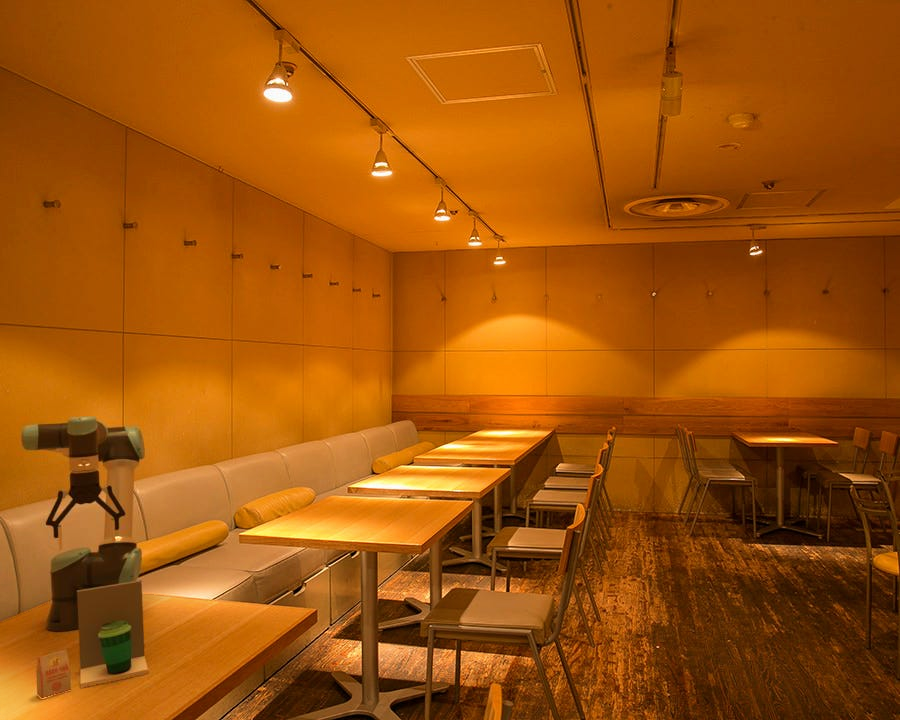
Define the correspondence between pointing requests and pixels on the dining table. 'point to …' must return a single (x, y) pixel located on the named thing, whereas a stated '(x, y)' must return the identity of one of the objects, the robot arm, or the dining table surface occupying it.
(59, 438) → the robot arm
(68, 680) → the tea bag
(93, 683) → the stand
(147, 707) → the dining table surface
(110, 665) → the cup
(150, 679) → the dining table surface
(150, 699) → the dining table surface
